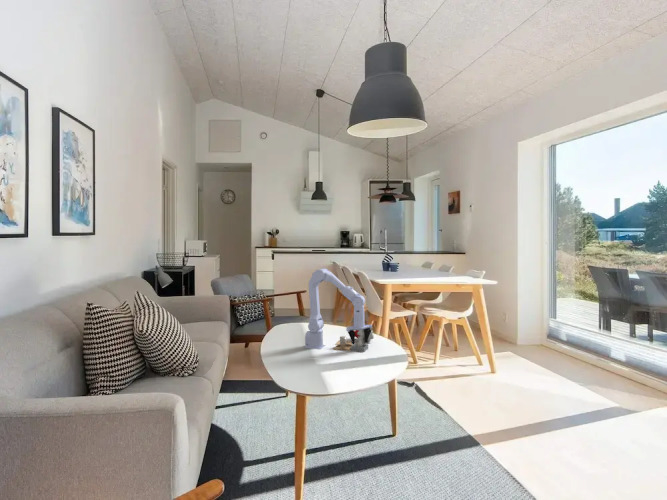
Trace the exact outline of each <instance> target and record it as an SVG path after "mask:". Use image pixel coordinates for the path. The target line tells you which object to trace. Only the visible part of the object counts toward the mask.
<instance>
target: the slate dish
mask: <svg viewBox="0 0 667 500" xmlns="http://www.w3.org/2000/svg"><path fill="white" fill-rule="evenodd" d="M367 350H369V344H368V343H365V344H363V343H362V348H360V347H356V342H355V344H354V345H353V346H351V352H360V353H364V352H366V351H367Z"/></svg>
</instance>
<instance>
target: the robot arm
mask: <svg viewBox="0 0 667 500" xmlns="http://www.w3.org/2000/svg"><path fill="white" fill-rule="evenodd" d="M323 281H324V282H327V283H328V282H330V283H331V284H332V285H334V286H335V287H337V288H338V289H339V290H340V291H341V293H342V295H343V296H344V297H345V298H346V299H347V300H349V301H350V302H351V303H352V306H353V325H351V326H347V327H346V326H345V327H346V328H345V329H346V332H347V333H348V336H349V339H350V341H351V342H352V344H353V345H354V344H355V343H356V339H355V338H356V337H355V332H354V331H356V330H364V341H365V342H364V343H365V344H368V343H369V342H368V338H369V335H370V333H371V330H372V329H373V325H372V324H366V323H365V320H366V318H365V317H366V316H365V313H366V312H365V303H366V298H365V297H364V295H362V294H360V293H359V292H357V291H356V290H354V287H353V286H350V285H347V286H346V285H345V283H343V282H342V281H341V280H340V279H339V278H338V277H337V276H336V275H335V274H334V273H333V272H331V271H330V270H329V269H328V268H326V267H325V268H324V267H322V268H319V269H316V270H315V271H313V272H312V274H311V277H310V278H309V280H308V294H309V295H308V296H309V307H310V308H309V309H310V316H309V318H308V319H309V320H308V321H309V322H308V325H307V328H308V330H307V331H306V332H305V335H304V344H305V345H304V349H313V350H321V349H322V348H324V347H326V344H324V339H323V338H324V335H323V334H324V333H323V331H324V330H323V327H324V326H325V323H324V322H325V321H324V320H323V317H322V314H321V307H320V306H321V305H320V294H319V293H320V291H319V285H320V284H321V283H322V282H323Z"/></svg>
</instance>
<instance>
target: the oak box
mask: <svg viewBox="0 0 667 500" xmlns="http://www.w3.org/2000/svg"><path fill="white" fill-rule="evenodd" d="M351 346H353V344H346V347H345V348H341V347H340V344H338V345H336V346H334V347H333V349H334V350H335V351H336V350H337V351H343V352H344V351H346V352H347V351H348V352H350V351H351ZM351 352H352V351H351Z"/></svg>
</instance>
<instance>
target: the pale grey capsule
mask: <svg viewBox="0 0 667 500" xmlns="http://www.w3.org/2000/svg"><path fill="white" fill-rule="evenodd" d="M355 343H356V347H360V348H362V344H363V342H362V339H361V338H356V339H355Z"/></svg>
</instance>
